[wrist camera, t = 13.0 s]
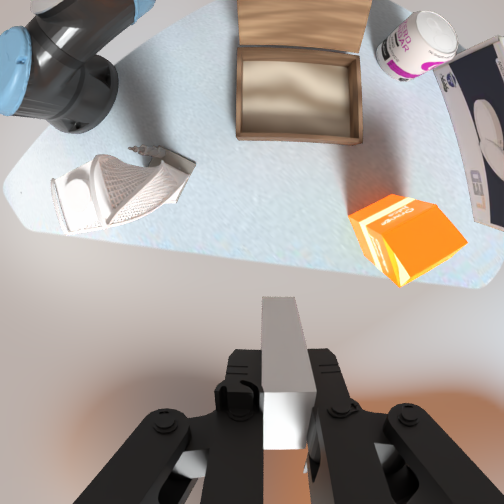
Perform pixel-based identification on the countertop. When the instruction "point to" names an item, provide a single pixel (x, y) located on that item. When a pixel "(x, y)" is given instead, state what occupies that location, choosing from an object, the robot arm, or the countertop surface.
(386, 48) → the supplement can
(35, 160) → the countertop surface
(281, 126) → the box
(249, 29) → the lid
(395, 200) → the orange juice
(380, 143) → the countertop surface
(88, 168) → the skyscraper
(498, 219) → the packaging
